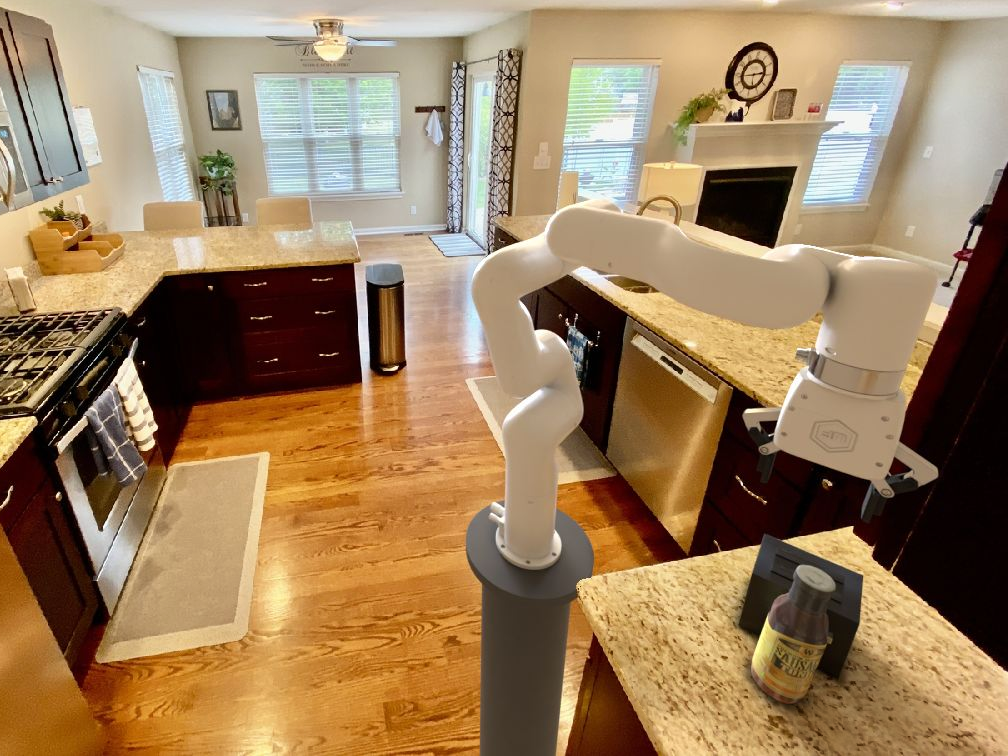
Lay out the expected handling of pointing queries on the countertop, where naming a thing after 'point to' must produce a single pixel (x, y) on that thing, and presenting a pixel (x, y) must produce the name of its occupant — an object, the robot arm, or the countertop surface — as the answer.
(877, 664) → the countertop surface
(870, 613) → the countertop surface
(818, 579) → the sauce bottle
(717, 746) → the countertop surface
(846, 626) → the toaster
